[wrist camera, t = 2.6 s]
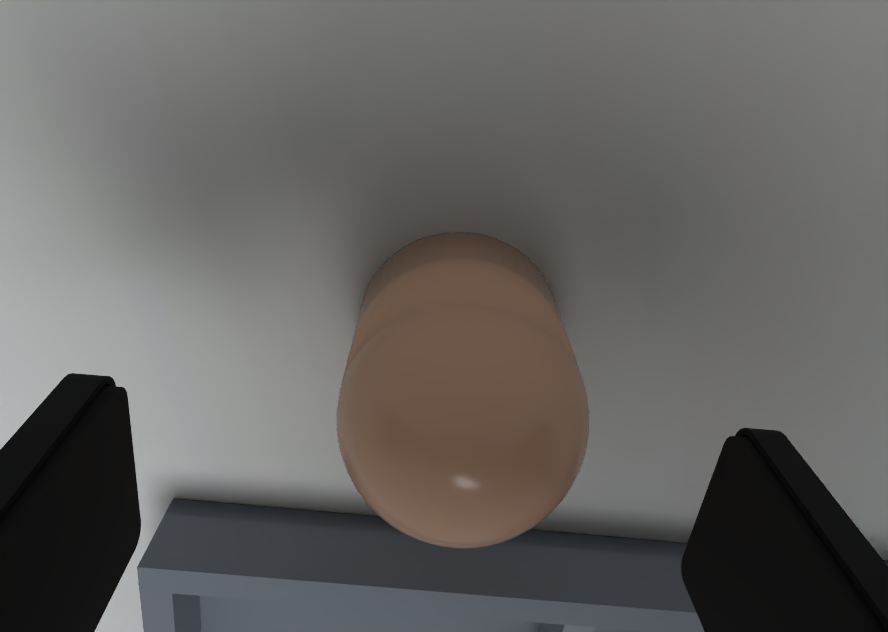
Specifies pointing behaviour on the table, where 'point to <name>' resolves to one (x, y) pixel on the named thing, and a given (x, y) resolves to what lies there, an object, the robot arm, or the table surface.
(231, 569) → the divided grey tray
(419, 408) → the egg
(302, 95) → the table surface
